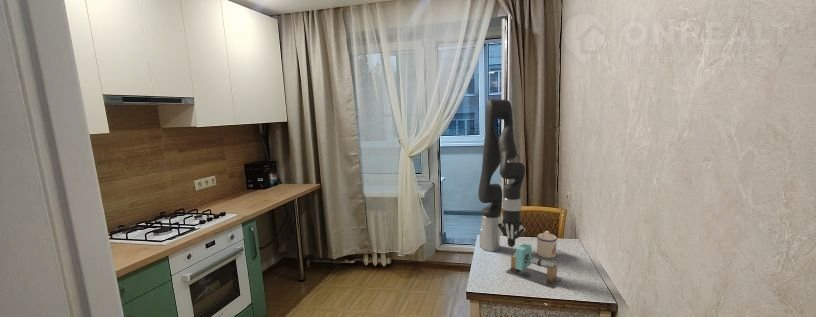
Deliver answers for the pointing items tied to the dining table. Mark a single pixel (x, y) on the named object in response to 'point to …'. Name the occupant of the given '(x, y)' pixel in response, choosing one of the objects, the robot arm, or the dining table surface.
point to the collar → (522, 256)
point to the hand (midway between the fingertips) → (511, 246)
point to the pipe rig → (533, 275)
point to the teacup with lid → (546, 245)
